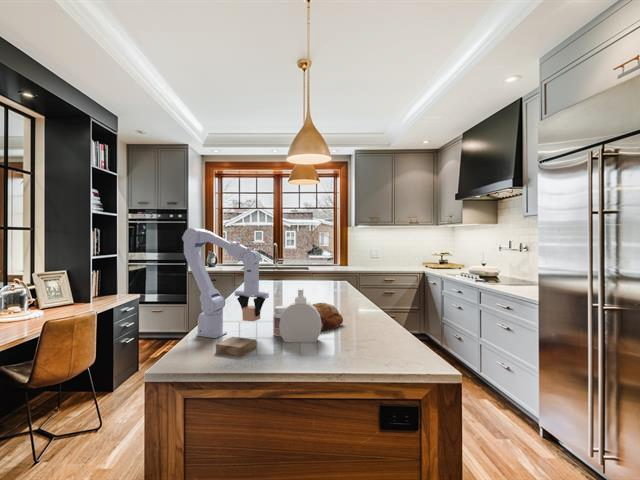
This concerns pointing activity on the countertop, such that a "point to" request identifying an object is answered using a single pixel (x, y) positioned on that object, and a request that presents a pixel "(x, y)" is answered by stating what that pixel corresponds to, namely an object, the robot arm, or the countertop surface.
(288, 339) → the soap bottle
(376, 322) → the countertop surface
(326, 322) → the bread
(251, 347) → the walnut base
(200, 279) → the robot arm
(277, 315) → the pill bottle
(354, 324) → the countertop surface
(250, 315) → the terracotta block
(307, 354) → the countertop surface
